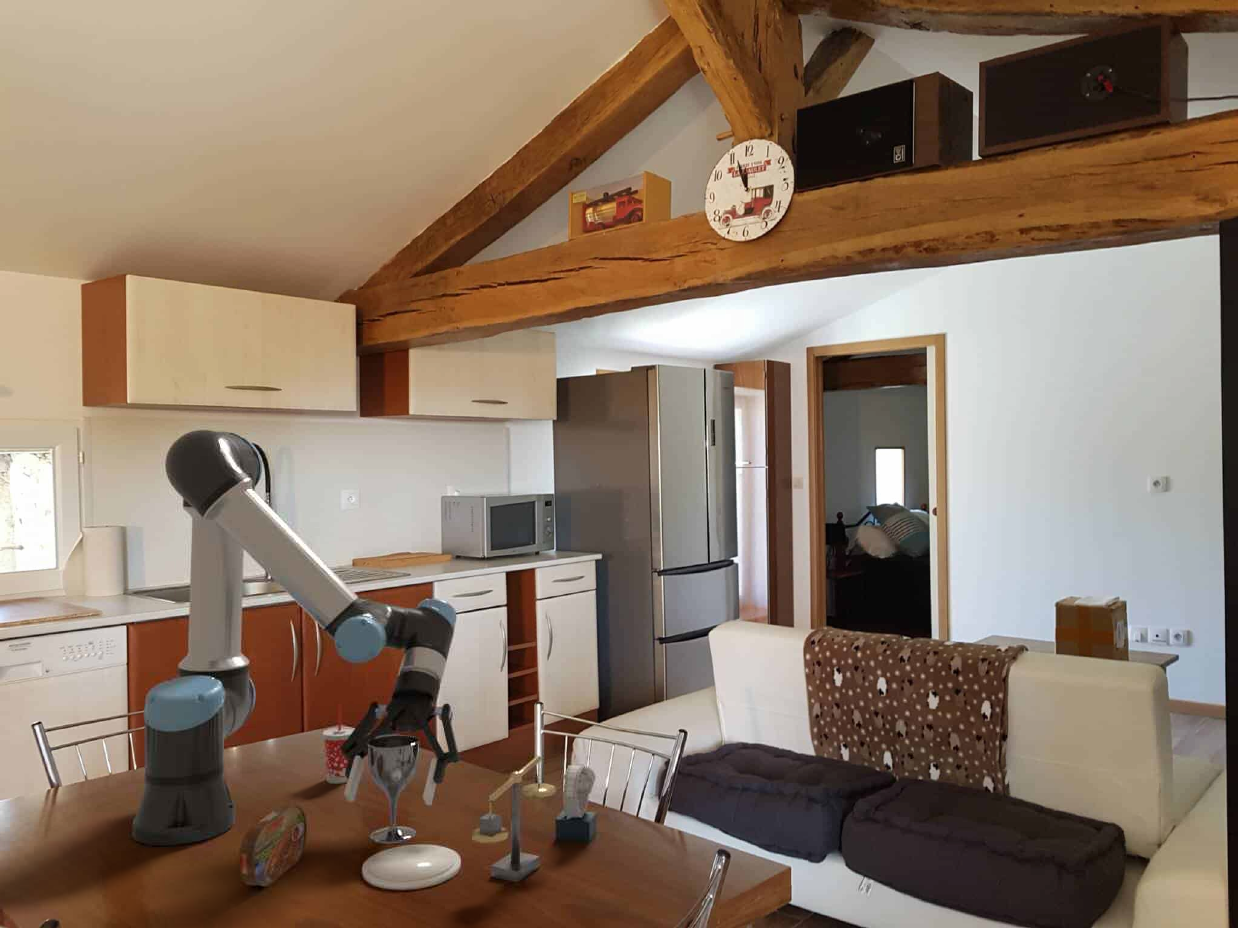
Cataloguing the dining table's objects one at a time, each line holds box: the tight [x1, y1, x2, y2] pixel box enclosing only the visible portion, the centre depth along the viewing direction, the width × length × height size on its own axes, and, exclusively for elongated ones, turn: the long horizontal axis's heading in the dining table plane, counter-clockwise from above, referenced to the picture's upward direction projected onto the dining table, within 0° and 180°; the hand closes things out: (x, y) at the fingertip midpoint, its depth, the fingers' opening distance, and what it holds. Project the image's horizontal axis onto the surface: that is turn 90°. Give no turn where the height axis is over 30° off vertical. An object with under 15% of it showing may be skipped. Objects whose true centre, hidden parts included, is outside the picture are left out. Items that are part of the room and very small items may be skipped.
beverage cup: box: [322, 704, 355, 784], centre depth 181 cm, size 6×6×14 cm
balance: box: [471, 755, 557, 883], centre depth 140 cm, size 18×5×15 cm, turn 153°
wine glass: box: [367, 733, 420, 845], centre depth 153 cm, size 8×8×15 cm
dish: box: [361, 844, 462, 891], centre depth 140 cm, size 14×14×1 cm
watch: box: [555, 763, 597, 843], centre depth 153 cm, size 6×8×11 cm
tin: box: [238, 805, 308, 887], centre depth 139 cm, size 15×3×8 cm, turn 171°
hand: (387, 799), depth 151 cm, fingers open, 12 cm apart
